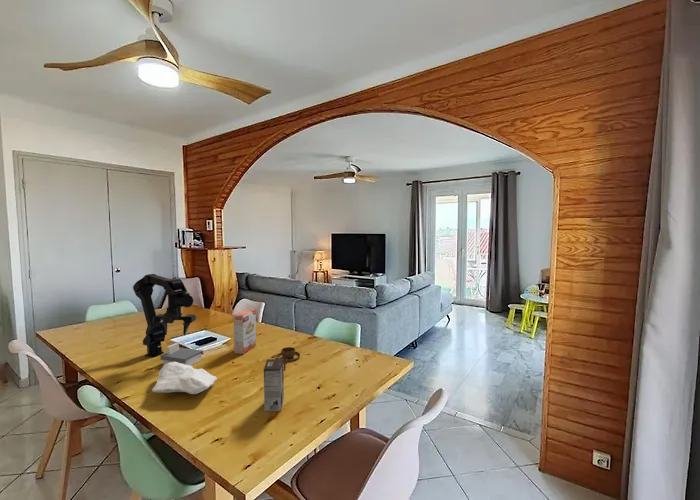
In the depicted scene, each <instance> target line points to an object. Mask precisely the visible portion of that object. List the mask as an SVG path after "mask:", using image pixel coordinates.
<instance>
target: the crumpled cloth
mask: <svg viewBox="0 0 700 500" xmlns="http://www.w3.org/2000/svg"><path fill="white" fill-rule="evenodd" d="M217 380H218V378H217V376H215V375H212V374H211V373H209V372H208V371H206V370H205V369H204V368H194V367H193V365H191V366H190V365H184V364H181V363H178V362H170V363H167V364H165V365H163V366H162V367H161V369H160V370H159V372H158V377H157V381H156V383H155V385H154V386H153V387H152V388H151V391H152V392H154V393H158V394H160V393H163V394H164V393H165V394H166V393H167V394H169V393H187V394H189V395H197V394H199V393H201V392H204V391H206V390H207V389H209V388H210V387H211V386H213V385H214V383H215V382H216V381H217Z"/></svg>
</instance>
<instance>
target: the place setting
mask: <svg viewBox="0 0 700 500" xmlns="http://www.w3.org/2000/svg"><path fill="white" fill-rule="evenodd" d="M281 356H282V358H281V359H283V371H286V368H287V367H286V365H287V363H290V362H296V361H297V360H299V359H300V358H301V354H300V352H298V351H296V348H295V347H293V346H292V347H291V346H287V347H283V348H281V352H279V353H277V354H274V355H271V358H276V359H280V358H279V357H281ZM295 356H297V357H296V358H293V357H295ZM295 365H298V364H297V363H295Z"/></svg>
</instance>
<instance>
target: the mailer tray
mask: <svg viewBox="0 0 700 500" xmlns="http://www.w3.org/2000/svg"><path fill="white" fill-rule="evenodd" d="M200 361H202V354H201V353H199V354H197V355H195V356H193V357H191V358H189V359H187V360H186V363H181V364H184V365H190V366H193V365H195V364H197V363H198V362H200ZM170 362H173V361H166V360H162V365H163V366H164V365H165V364H167V363H170ZM178 363H180V362H178Z"/></svg>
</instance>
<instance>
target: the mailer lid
mask: <svg viewBox="0 0 700 500" xmlns="http://www.w3.org/2000/svg"><path fill="white" fill-rule="evenodd" d="M199 353H201V356H202V355H204V350H201V349H194V348H188V347H187V348H185V347H180V343H179V342H175V343H172V344H170V345H168V346H166V352H164V353H162V354H160V356H159V357H160V360H161V361H163V360H166V361H173V362H180V363H186V360H187V359H189V358H191V357H193V356H195V355H197V354H199Z"/></svg>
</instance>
